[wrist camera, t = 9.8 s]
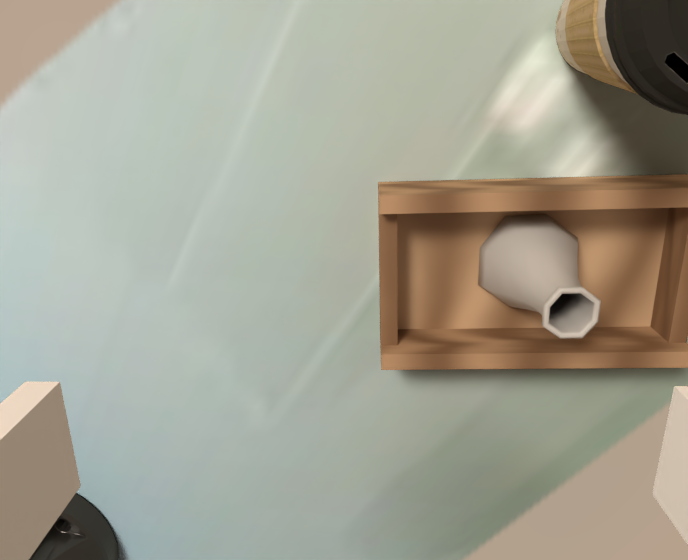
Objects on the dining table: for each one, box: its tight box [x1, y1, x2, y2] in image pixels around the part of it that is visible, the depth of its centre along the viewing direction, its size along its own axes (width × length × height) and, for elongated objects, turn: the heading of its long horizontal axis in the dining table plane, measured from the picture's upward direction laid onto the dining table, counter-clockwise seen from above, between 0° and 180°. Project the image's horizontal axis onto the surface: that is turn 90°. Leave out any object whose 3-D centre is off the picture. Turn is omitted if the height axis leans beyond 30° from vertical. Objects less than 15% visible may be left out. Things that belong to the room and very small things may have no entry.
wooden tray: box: [378, 174, 688, 370], centre depth 40 cm, size 21×12×5 cm, turn 92°
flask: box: [478, 215, 601, 339], centre depth 36 cm, size 7×7×10 cm
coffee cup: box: [556, 0, 688, 115], centre depth 29 cm, size 10×10×15 cm
